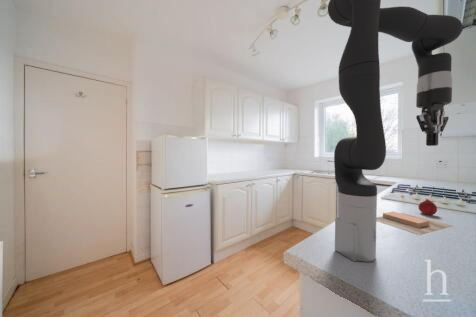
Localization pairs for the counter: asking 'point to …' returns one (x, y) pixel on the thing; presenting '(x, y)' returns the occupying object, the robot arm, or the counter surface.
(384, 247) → the counter surface
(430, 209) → the onion
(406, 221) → the tile
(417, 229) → the board
